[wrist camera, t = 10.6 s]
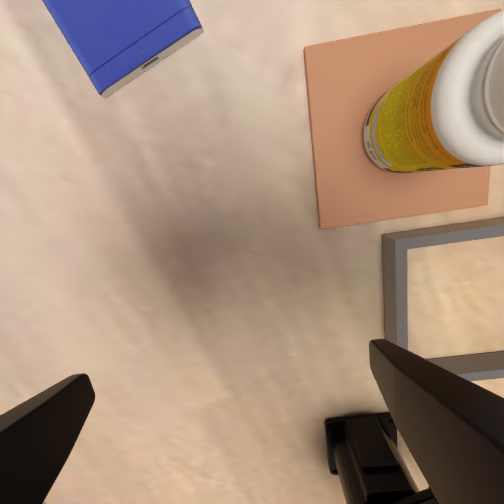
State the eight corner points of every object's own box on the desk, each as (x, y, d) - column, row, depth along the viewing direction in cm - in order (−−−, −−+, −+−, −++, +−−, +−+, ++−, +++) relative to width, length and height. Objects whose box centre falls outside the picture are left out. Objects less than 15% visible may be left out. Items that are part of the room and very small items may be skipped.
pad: (481, 204, 19) (487, 205, 19) (319, 228, 20) (321, 229, 19) (494, 13, 16) (501, 8, 16) (303, 50, 17) (305, 46, 16)
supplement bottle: (377, 188, 18) (513, 191, 9) (347, 113, 17) (464, 18, 7) (454, 148, 18) (703, 102, 8) (428, 68, 16) (681, -108, 7)
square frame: (535, 355, 22) (561, 371, 20) (386, 371, 23) (397, 388, 21) (555, 209, 19) (588, 212, 17) (381, 234, 20) (395, 239, 18)
